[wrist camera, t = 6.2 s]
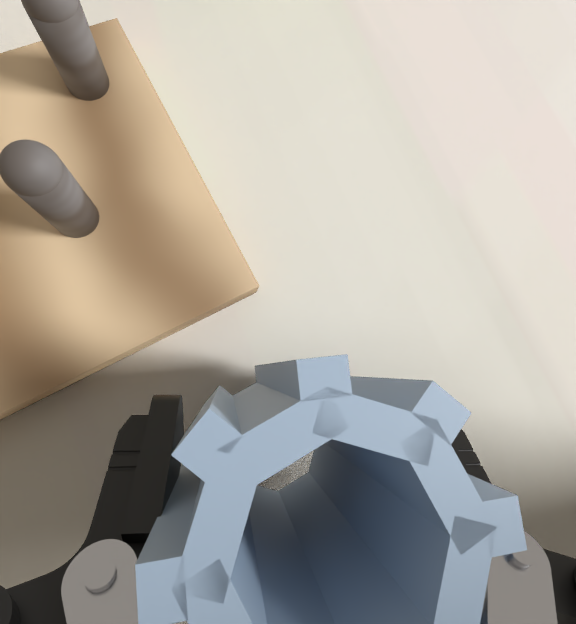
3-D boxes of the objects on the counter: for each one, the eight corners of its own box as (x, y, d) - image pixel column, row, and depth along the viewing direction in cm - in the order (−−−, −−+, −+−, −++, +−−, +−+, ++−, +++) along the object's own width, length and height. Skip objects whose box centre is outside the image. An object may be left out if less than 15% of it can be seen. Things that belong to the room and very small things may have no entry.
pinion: (303, 339, 17) (407, 298, 7) (374, 471, 17) (586, 617, 7) (166, 413, 16) (67, 487, 6) (241, 558, 15) (265, 889, 6)
